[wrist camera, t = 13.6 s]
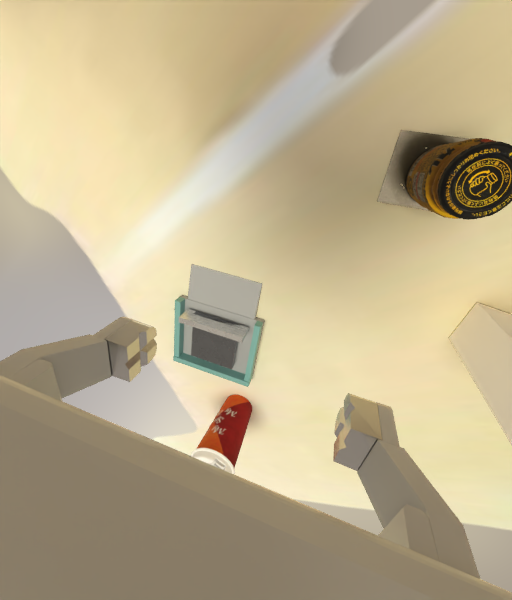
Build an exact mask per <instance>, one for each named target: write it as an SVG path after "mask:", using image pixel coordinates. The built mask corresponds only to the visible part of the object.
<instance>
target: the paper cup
mask: <svg viewBox="0 0 512 600" xmlns="http://www.w3.org/2000/svg"><path fill="white" fill-rule="evenodd" d="M251 412H252V406H251V403H250V402H249V401H248V400H247V399H246V398H244V397H242V396H240V395H231V396H229V397H228V398H227V400H226V401H225V403H224V404H223V406H222V407H221V409H220V411H219V412H218V414H217V416H216V417H215V419H214V421H213V422H212V424H211V426H210V427H209V429H208V431H207V432H206V434H205V436H204V437H203V439H202V440H201V442H200V444H199V445H198V447H197V449H195V450H194V451H193V452H192V454H191V457H194V458H196V459H198V460H201V461H203V462H206V463H208V464H210V465H213V466H215V467H217V468H220V469H222V470H224V471H227V472H229V473H232V474H235V470H234V467H235V464H236V461H237V458H238V454H239V451H240V448H241V445H242V442H243V438H244V435H245V432H246V429H247V425H248V422H249V419H250V415H251Z"/></svg>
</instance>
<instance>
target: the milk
mask: <svg viewBox="0 0 512 600" xmlns="http://www.w3.org/2000/svg"><path fill="white" fill-rule="evenodd" d="M449 340H450V341H451V343H452V345H453V347H454V348H455V350H456V352H457V353H458V355H459V357H460V358H461V360H462V362H463V364H464V365H465V367H466V369H467V370H468V372H469V374H470V375H471V377H472V379H473V380H474V382H475V384H476V386H477V387H478V389H479V391H480V392H481V394H482V396H483V397H484V399H485V401H486V403H487V404H488V406H489V408H490V409H491V411H492V413H493V414H494V416H495V418H496V419H497V421H498V423H499V425H500V426H501V428H502V430H503V431H504V433H505V435H506V436H507V438H508V440H509V442H510V443H511V445H512V314H509V313H506V312H503V311H500V310H497V309H495V308H492V307H489V306H486V305H483V304H480V303H476V304H475V305H474V307H473V308H472V309H471V310H470V312H469V313H468V314H467V315H466V317H465V318H464V319H463V320H462V322H461V323H460V324H459V325H458V327H457V328H456V329H455V330H454V332H453V333H452V334H451V336H450V337H449Z"/></svg>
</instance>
